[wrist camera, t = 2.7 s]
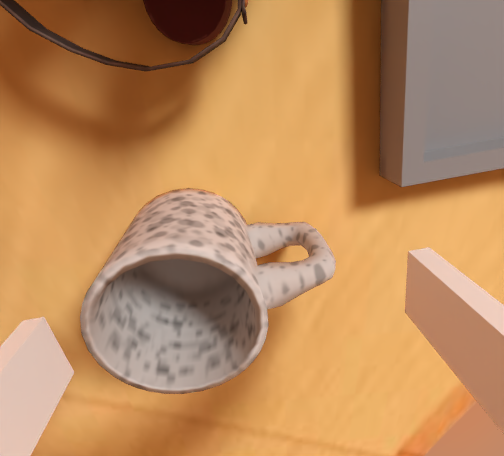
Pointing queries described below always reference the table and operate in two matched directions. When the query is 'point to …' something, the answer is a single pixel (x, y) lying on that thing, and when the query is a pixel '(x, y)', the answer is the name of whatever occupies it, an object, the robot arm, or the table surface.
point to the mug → (194, 292)
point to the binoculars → (164, 18)
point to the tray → (441, 89)
